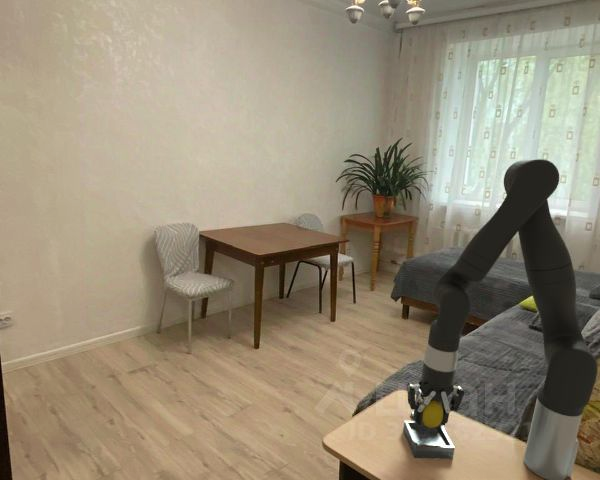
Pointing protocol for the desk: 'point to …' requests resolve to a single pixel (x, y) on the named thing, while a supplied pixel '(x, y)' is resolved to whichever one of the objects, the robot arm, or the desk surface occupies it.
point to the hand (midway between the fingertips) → (429, 422)
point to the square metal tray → (428, 441)
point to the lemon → (432, 414)
